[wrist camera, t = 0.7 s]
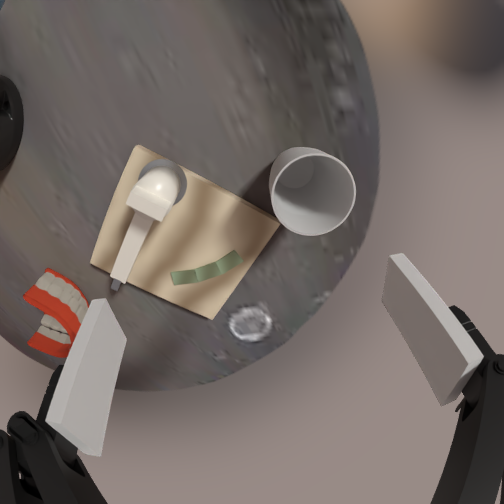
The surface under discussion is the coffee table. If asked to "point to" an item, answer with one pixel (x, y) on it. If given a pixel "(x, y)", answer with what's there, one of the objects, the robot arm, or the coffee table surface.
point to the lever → (145, 216)
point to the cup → (310, 191)
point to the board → (186, 238)
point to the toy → (56, 312)
